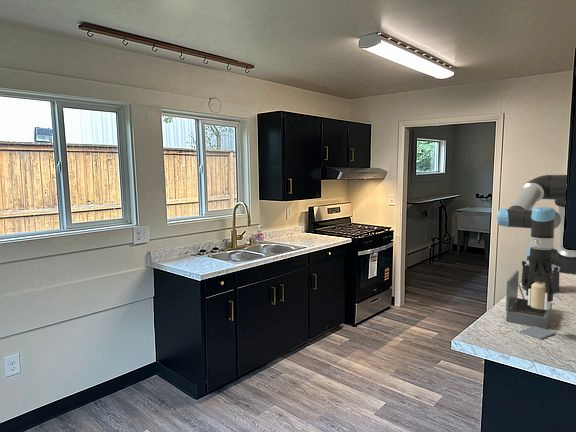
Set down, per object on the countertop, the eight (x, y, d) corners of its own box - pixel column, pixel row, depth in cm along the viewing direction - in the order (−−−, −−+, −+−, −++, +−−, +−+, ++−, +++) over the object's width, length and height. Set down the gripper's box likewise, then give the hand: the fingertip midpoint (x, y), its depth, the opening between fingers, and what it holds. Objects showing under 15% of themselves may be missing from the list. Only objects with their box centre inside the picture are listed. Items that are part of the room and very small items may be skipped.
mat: (534, 327, 163) (534, 325, 163) (555, 334, 156) (555, 332, 156) (519, 332, 158) (519, 330, 158) (540, 339, 151) (540, 338, 151)
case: (515, 306, 188) (516, 269, 186) (551, 312, 178) (553, 274, 177) (504, 321, 170) (506, 281, 168) (545, 329, 161) (547, 286, 159)
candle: (536, 309, 153) (537, 284, 152) (527, 305, 159) (528, 280, 158) (550, 309, 153) (551, 284, 152) (541, 304, 159) (542, 280, 158)
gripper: (512, 245, 160) (509, 301, 162) (562, 253, 144) (558, 315, 146) (523, 243, 163) (521, 298, 166) (573, 250, 147) (570, 312, 150)
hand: (538, 306), depth 156 cm, fingers closed on candle, 5 cm apart
